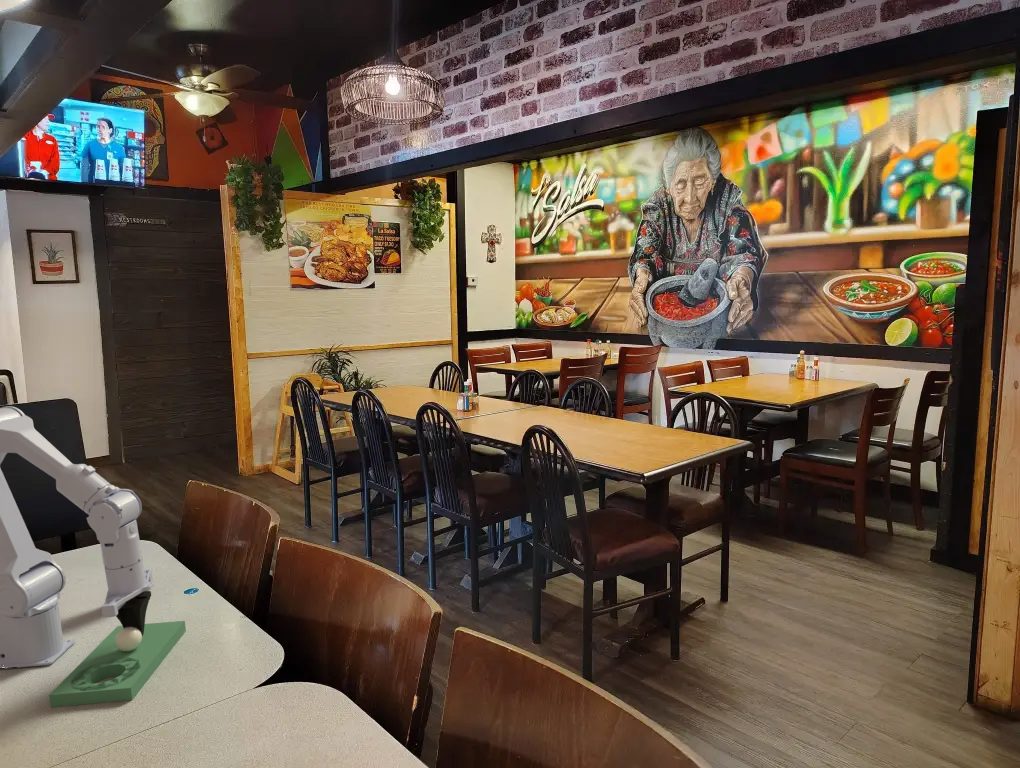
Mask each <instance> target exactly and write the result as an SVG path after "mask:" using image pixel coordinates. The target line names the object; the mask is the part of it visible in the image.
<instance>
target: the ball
mask: <svg viewBox="0 0 1020 768" xmlns="http://www.w3.org/2000/svg"><path fill="white" fill-rule="evenodd" d="M141 640H142V634H141V632H140V630H139V629H137V628H135V627H126V628H124V629H122V630H121V631H119V633H118V634H117V636H116V638H115V644H116V646H117V648H118V649H119V650H121V651H125V652H128V651H132V650H134V649H135V648H137V647H138V646H139V644H140V643H141Z"/></svg>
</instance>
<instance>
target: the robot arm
mask: <svg viewBox="0 0 1020 768" xmlns="http://www.w3.org/2000/svg"><path fill="white" fill-rule="evenodd" d="M9 453H11V454H17V455H19V456H20V457H22V458H23V459H24V460H27V461H28V462H29V463H30V464H32V465H34V466H35V467H37V468H38V469H40V470H41V471H43V472H44V473H46V474H47V475H48V476H49V477H52V478H53V479H54V480H55V486H56V487H55V488H56V490H57V492H59V493H60V494H62V495H63V497H65V498H67V500H68V501H70V502H72V504H74V505H75V506H77V507H78V508H79V509H81V510H82V512H83V511H84V513H86V514H87V515H88V517H86V520H87V524H88V526H89V527H90V528H91V529H92V531H94V533H95V535H96V539H97V541H98V542H99V543H100V548H101V549H100V551H101V550H102V552H101V557H102V556H103V560H102V563H103V562H104V564H103V567H104V572H105V578H106V583H107V592H106V596H105V599H104V600H105V601H104V603H103V604H102V606H101V607H100V608H101V612H102V613H101V614H102V618H103V619H104V618H111V617H116V618H117V620H118V621H119V623H120V624H121V626H123V628H126V627H135V628H137V629H139V630H140V632H141V634H142V636H143V634H144V626H145V624H146V615H147V609H148V605H149V601H150V599H151V597H152V591H151V590H153V588H154V585H155V584H154V581H152V580H153V578H154V577H153V574H152V573H153V572H152V569H145V564H144V561H143V553H142V547H141V546H142V545H141V540H140V535H139V529H138V522H137V519H138V518H139V517H140V515H142V514H141V513H142V510H143V506H142V501H141V499H140V497H139V496H138V494H136V493H135V492H134V491H133V490H132V489H129V488H120V487H118V486H115V485H113V484H111V483H110V482H108V481H107V479H105V478H104V477H102V476H101V475H100V474H99V473H97V472H96V468H94V467H93V466H92V465H87V464H85V463H78V464H77V463H76V464H75V463H72V462H71V461H70V460H69V459H68V458H67V457H66V456H65V455H64V454H63V453H62V452H60V451H59V449H57V448H56V447H55V446H54V445H53V444H52V443H51V442H50V441H48V439H46V438H45V437H44V436H43V435H42V434H41V433H40V432H39V431H37V429H35V427H34V421H33V419H32V418H31V417H30V416H28V415H26V414H25V413H24V412H23V411H22V410H21V409H19V408H18V407H15V406H13V405H10V406H8V405H7V406H2V407H0V465H2V462H3V461H4V460H5V457H6V455H7V454H9ZM140 545H141V546H140ZM66 578H67V577H66V574H65V571H64V570H63V569H62V567H61V566H59V565H58V563H56V561H55V559H54V558H53V556H52V554H51V553H49V552H48V551H44V550H41V549H39V548H36V546H35V543H34V541H33V539H32V537H31V534H30V531H29V530H28V528H27V524H26V523H25V520H24V519H23V516H22V514H21V512H20V509H19V507H18V505H17V503H16V500H15V498H14V496H13V493H12V491H11V489H10V486H9V484H8V482H7V480H6V478H5V475H4V472H3V471H2V469H1V467H0V668H2V667H5V669H7V668H6V667H9V668H8V669H11V668H10V667H17V668H27V667H29V668H30V667H39V666H50V665H53V663H55V661H56V660H57V659H58V658H60V657H61V656H62V655H63V654H64V653H65V652H66V651H67V650H68V649H69V648H70V647H71V646H73V644H75V643H76V640H75V639H68V640H67V639H64V636H63V630H62V629H63V628H62V622H61V614H60V607H59V599H61V595H60V594H61V592H62V590H63V589H65V586H66V582H67V579H66ZM3 665H4V666H3Z"/></svg>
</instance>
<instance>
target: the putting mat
mask: <svg viewBox="0 0 1020 768" xmlns="http://www.w3.org/2000/svg"><path fill="white" fill-rule="evenodd" d="M122 629H124V628H123V626H122V625H117V626H116V627H115V628H114V629H112V631H111V632H110V633H109V634H108V635H107V636H106V637H105V638H104V639H103V640H102V641H101V642H100V643H99V644H98V645H97V646H96V647H95V648H94V649H93V651H91V652H90V653H89V654H88V655H87V656H86V657H85V658H84V659H83V661H81V662H80V663H79V664H78V665H77V666H76V667H75V668H74V669H73V671H71V672H70V673H69V675H67V676H65V678H64V679H63V680H62V682H60V683H59V685H57V686H56V687H55V688H54V689H53V691H52V692H50V693H49V695H48V698H49V703H50V704H49V705H50V708H59V707H67V706H79V705H90V704H104V703H112V702H113V703H114V702H123V701H133V700H134V699H135V697H136V696H137V694H138V693H139V692H140V691H141V690H142V688H143V687H144V685H146V683H147V681H148V680H149V679H150V678H151V677H152V675H153V674H154V672H155V671H156V670H157V669H158V668H159V666H160V665H161V664H162V663H163V661H164V660H165V659H166V657H167V656H168V654H169V653H170V652H171V651H172V650H173V648H174V647H175V646H176V644H178V643H179V640H180V639H181V638H182V636H183V635H184V634H185V633H186V632H187V627H186V620H178V621H176V620H175V621H167V622H166V621H164V622H153V623H145V626H144V634H143V636H142V640H141V643H140V644H139V646H138V647H137V648H135V649H134V650H132V651H128V652H125V651H121V650H119V649H118V648H117V646H116V644H115V638H116V636H117V634H118V633H119V631H121V630H122ZM177 642H178V643H177ZM116 676H117V677H116ZM109 677H115V678H113V679H109V680H107V681H104V682H99V681H100V680H103V679H107V678H109Z"/></svg>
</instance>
